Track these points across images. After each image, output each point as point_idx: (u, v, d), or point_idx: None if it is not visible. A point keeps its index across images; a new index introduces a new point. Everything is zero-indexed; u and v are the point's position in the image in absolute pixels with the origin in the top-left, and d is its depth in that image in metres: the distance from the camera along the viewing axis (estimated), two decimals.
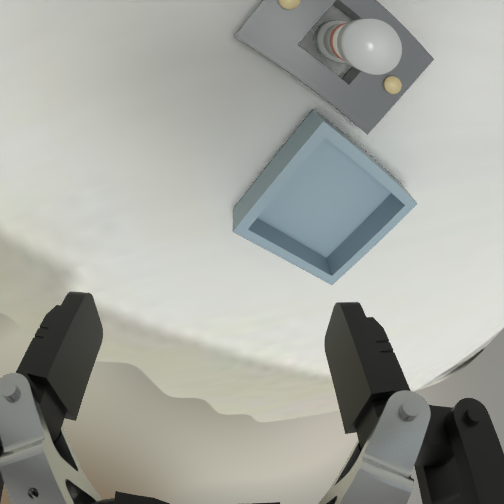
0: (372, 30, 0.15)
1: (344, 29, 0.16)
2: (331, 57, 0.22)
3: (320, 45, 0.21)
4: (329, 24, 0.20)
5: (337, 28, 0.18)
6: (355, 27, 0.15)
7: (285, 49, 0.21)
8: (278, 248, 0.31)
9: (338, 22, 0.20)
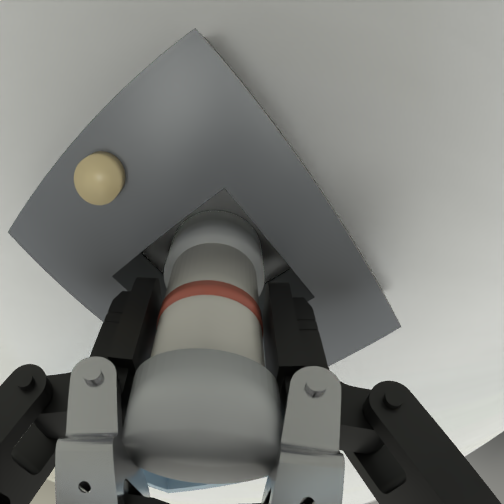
0: (200, 445, 0.05)
1: (138, 389, 0.06)
2: None
3: (165, 278, 0.12)
4: (192, 241, 0.11)
5: (174, 301, 0.09)
6: (145, 435, 0.05)
7: (89, 279, 0.11)
8: None
9: (215, 239, 0.11)
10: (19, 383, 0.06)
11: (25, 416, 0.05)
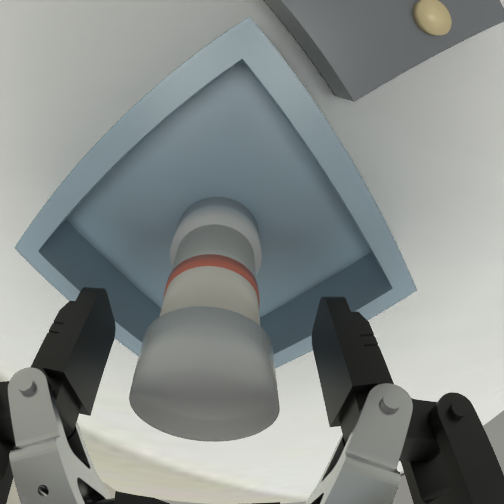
0: (202, 390, 0.07)
1: (148, 343, 0.07)
2: None
3: (171, 257, 0.13)
4: (196, 222, 0.12)
5: (180, 272, 0.10)
6: (153, 380, 0.06)
7: None
8: None
9: (217, 221, 0.12)
10: None
11: None
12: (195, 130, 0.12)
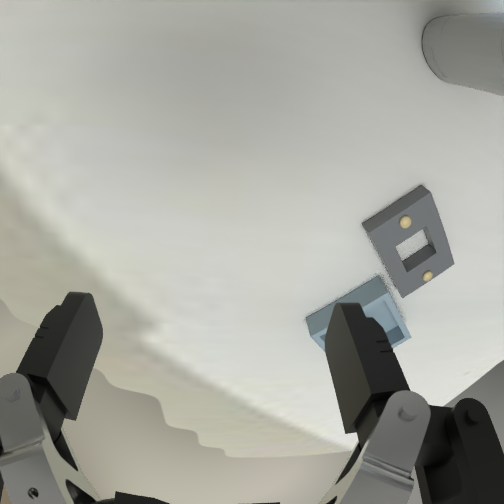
0: None
1: None
2: None
3: None
4: None
5: None
6: None
7: (388, 247, 0.40)
8: None
9: None
10: None
11: None
12: None
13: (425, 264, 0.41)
